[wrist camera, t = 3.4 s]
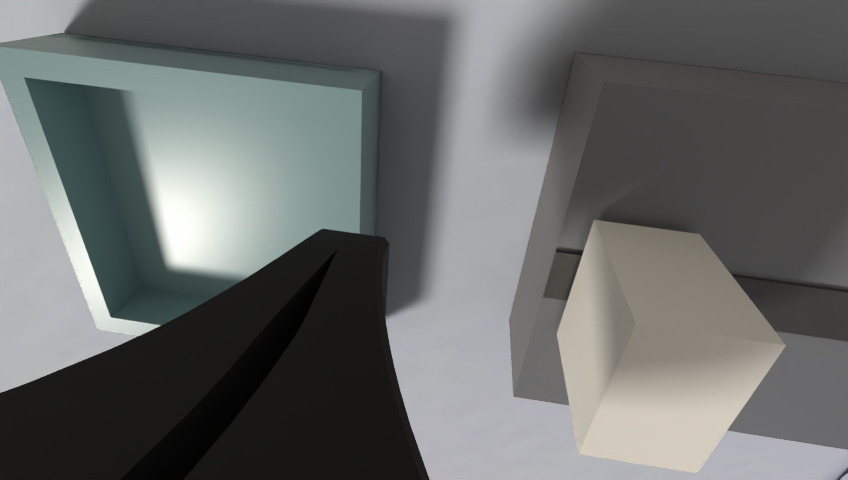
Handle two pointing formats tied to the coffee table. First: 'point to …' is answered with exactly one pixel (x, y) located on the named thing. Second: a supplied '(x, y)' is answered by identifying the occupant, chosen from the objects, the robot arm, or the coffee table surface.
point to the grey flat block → (705, 217)
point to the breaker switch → (658, 347)
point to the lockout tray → (188, 163)
